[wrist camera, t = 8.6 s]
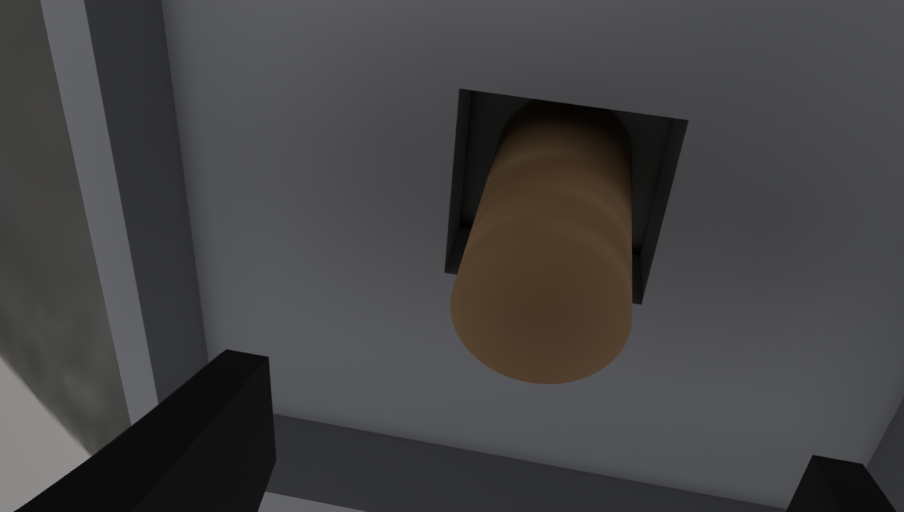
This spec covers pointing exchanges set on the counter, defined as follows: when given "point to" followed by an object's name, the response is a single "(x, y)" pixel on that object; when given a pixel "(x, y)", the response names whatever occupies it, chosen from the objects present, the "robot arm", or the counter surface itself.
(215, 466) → the robot arm
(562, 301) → the peg
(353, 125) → the box
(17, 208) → the counter surface
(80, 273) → the counter surface
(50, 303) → the counter surface
